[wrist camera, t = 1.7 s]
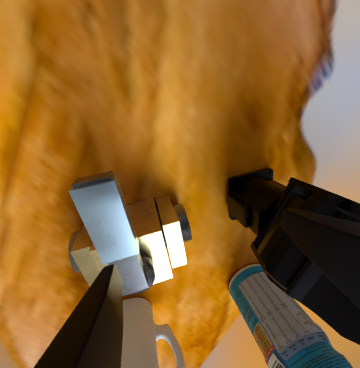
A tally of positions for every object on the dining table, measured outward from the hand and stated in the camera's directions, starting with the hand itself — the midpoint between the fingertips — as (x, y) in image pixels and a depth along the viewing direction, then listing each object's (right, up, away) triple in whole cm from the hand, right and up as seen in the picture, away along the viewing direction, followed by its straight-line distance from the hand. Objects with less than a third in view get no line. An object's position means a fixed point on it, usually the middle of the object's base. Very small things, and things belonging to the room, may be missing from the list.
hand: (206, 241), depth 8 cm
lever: (-6, -1, +6) cm, 8 cm away
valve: (-7, -3, +14) cm, 15 cm away
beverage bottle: (+11, -15, +24) cm, 30 cm away
